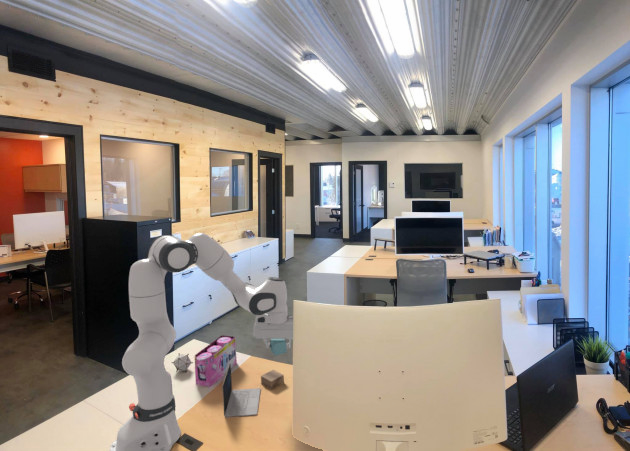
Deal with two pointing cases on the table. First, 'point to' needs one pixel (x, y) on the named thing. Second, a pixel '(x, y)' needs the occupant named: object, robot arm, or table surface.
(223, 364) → the gum box
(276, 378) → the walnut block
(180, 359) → the grey spiked polyhedron
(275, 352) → the teal cube
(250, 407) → the laptop
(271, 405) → the table surface
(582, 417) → the table surface
